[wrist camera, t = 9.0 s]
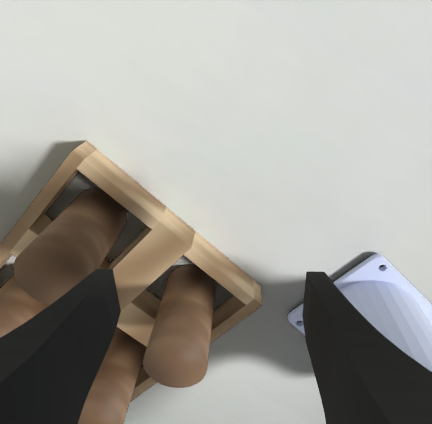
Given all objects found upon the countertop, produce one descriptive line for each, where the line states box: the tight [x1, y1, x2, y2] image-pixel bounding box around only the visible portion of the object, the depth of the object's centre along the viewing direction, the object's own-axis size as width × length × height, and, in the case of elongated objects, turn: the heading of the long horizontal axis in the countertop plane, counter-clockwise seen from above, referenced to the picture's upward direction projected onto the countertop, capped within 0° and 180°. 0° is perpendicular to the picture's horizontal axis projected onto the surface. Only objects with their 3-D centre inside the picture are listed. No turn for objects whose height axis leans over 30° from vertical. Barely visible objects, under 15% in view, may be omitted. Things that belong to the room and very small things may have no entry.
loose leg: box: [14, 188, 127, 305], centre depth 20 cm, size 4×4×7 cm
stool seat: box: [0, 141, 262, 424], centre depth 23 cm, size 15×15×7 cm
